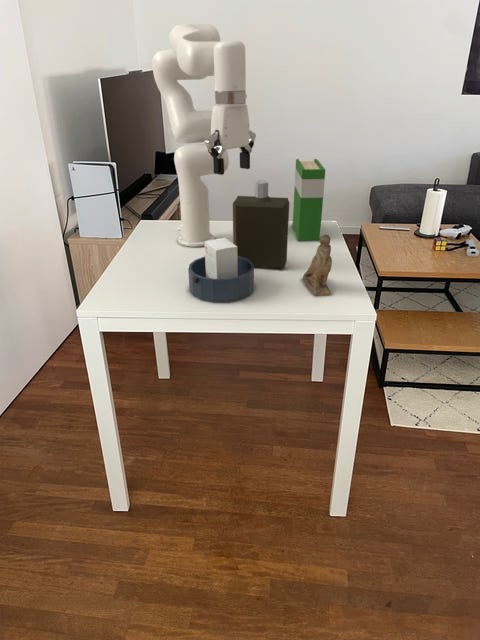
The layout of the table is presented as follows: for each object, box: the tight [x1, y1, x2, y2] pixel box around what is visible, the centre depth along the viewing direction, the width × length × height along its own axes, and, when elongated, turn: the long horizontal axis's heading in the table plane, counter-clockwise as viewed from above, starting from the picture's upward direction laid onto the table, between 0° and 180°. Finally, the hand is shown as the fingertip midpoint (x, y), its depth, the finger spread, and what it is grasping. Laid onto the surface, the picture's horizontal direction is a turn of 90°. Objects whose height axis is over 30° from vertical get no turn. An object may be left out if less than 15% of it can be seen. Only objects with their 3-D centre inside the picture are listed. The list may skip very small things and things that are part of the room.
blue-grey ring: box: [187, 255, 255, 304], centre depth 130 cm, size 18×20×6 cm
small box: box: [204, 237, 238, 279], centre depth 128 cm, size 8×6×13 cm
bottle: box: [232, 179, 290, 270], centre depth 140 cm, size 8×16×25 cm, turn 80°
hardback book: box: [292, 158, 326, 242], centre depth 166 cm, size 18×7×24 cm, turn 1°
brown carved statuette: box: [302, 234, 333, 297], centre depth 127 cm, size 12×6×18 cm, turn 6°
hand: (232, 171), depth 124 cm, fingers open, 9 cm apart
